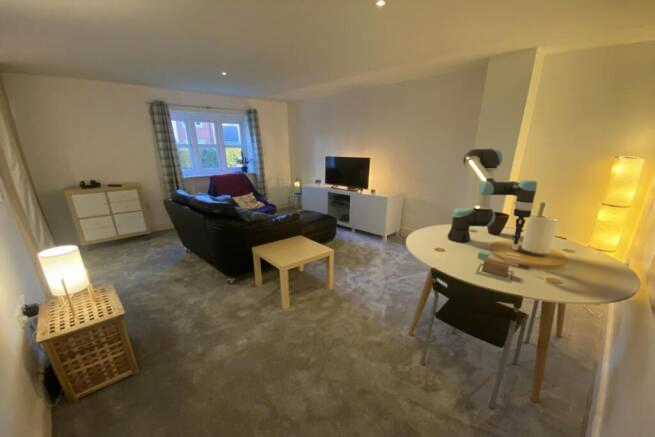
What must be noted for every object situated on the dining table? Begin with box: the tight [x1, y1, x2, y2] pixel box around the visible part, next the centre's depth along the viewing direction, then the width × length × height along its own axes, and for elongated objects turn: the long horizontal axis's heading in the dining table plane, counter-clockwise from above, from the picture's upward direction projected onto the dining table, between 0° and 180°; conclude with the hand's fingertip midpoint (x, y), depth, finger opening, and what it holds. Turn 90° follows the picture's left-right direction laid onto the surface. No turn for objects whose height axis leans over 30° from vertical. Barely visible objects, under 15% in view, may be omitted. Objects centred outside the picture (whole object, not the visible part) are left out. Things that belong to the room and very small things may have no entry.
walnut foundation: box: [482, 257, 511, 278], centre depth 137 cm, size 6×11×6 cm, turn 51°
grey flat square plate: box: [474, 262, 515, 284], centre depth 138 cm, size 16×16×1 cm
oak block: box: [503, 252, 521, 268], centre depth 148 cm, size 7×7×6 cm
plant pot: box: [486, 211, 510, 236], centre depth 199 cm, size 15×15×16 cm
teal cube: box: [477, 249, 490, 261], centre depth 155 cm, size 5×5×5 cm
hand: (515, 245), depth 145 cm, fingers open, 13 cm apart
